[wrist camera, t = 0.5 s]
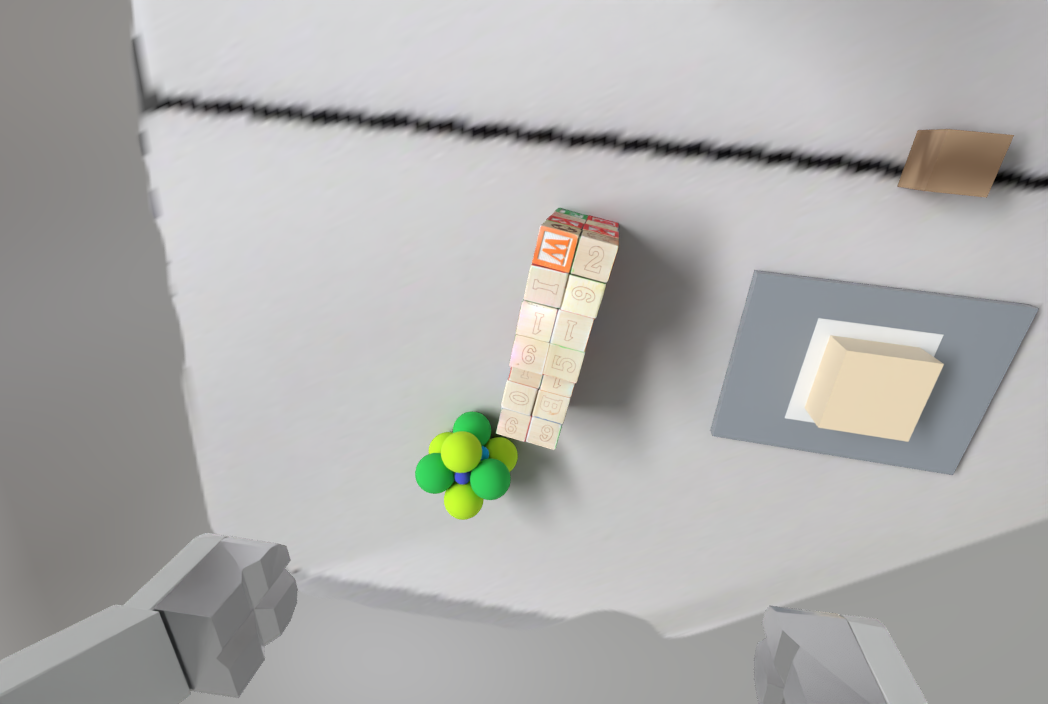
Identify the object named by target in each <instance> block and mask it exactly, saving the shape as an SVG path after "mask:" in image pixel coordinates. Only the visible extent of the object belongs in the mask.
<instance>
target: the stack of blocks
mask: <svg viewBox="0 0 1048 704" xmlns="http://www.w3.org/2000/svg"><path fill="white" fill-rule="evenodd" d="M618 230H619V224H618V223H616V222H612V221H608V220H604V219H601V218H597V217H593V216H587V215H583V214H580V213H576V212H572V211H569V210H565V209H561V208H558V209H556V210H555V211H554V213H553V214H552V215H551V216H549V217H548V218H547V219H546V221H545V222H544V223H543V224H542V225H541V226H540V229H539V234H538V238H537V243H536V247H535V251H534V256H533V260H532V264H531V267H530V271H529V276H528V281H527V285H526V290H525V295H524V299H523V301H522V304H521V308H520V314H519V318H518V323H517V328H516V335H515V339H514V344H513V349H512V353H511V358H510V363H509V366H510V367H511V371H510V375H509V378H508V379H507V383H506V387H505V391H504V395H503V399H502V404H501V407H502V410H501V414H500V418H499V422H498V426H497V430H496V434H499V435H502V436H506V437H509V438H513V439H516V440H519V441H523V442H524V441H526V442H528V443H532V444H535V445H538V446H542V447H545V448H549V449H552V450H555V448H556V445H557V441H558V438H559V435H560V431H561V427H562V424H563V422H564V419H565V415H566V412H567V409H568V405H569V402H570V398H571V395H572V392H573V389H574V385H575V383H577V381H578V377H579V374H580V370H581V366H582V363H583V359H584V356H585V352H586V345H587V342H588V339H589V335H590V332H591V328H592V325H593V321H594V319H595V318H596V317H597V314H598V311H599V307H600V304H601V301H602V297H603V294H604V291H605V288H606V283H607V282H608V280H609V276H610V273H611V270H612V267H613V264H614V260H615V257H616V254H617V251H618V247H619V241H618V240H619V232H618Z"/></svg>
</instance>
